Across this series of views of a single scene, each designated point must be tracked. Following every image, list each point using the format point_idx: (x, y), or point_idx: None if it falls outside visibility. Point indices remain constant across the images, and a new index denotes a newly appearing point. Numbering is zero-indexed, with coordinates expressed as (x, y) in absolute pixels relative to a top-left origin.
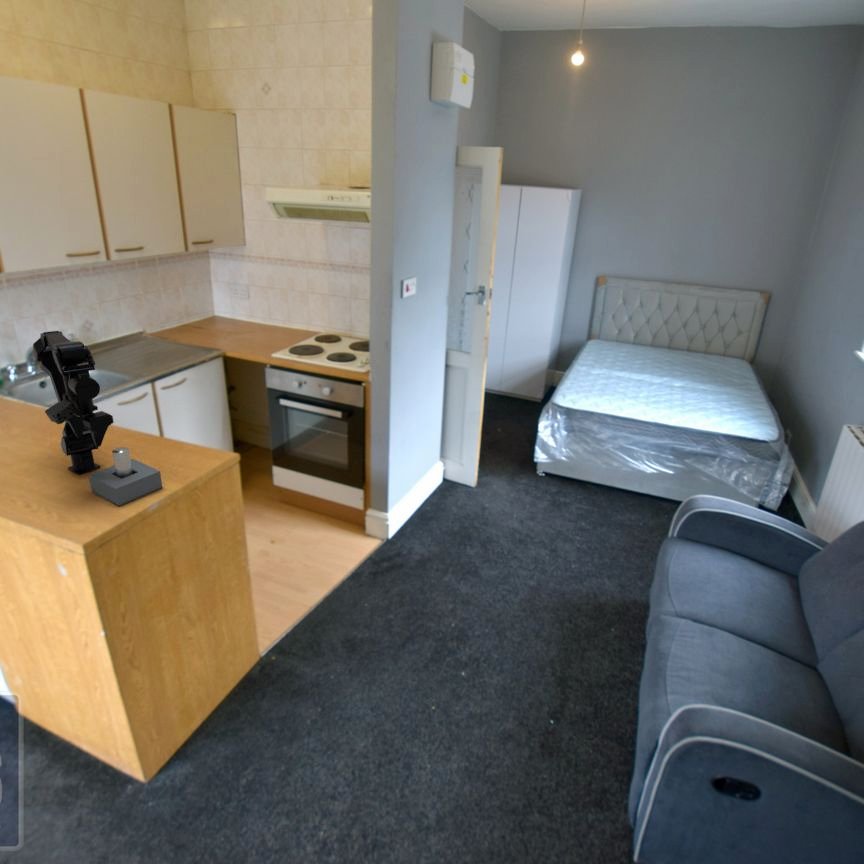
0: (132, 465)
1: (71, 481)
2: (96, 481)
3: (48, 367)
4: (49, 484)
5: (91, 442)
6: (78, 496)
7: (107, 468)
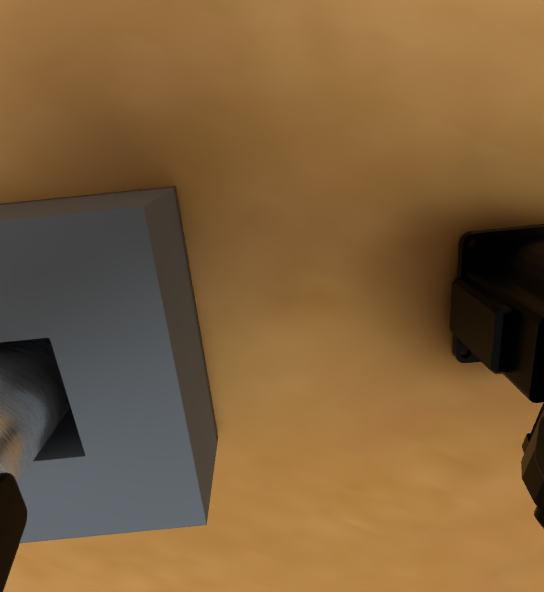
0: (94, 484)
1: (424, 162)
2: (36, 214)
3: None
4: (501, 34)
5: (535, 464)
6: (184, 101)
7: (158, 357)
